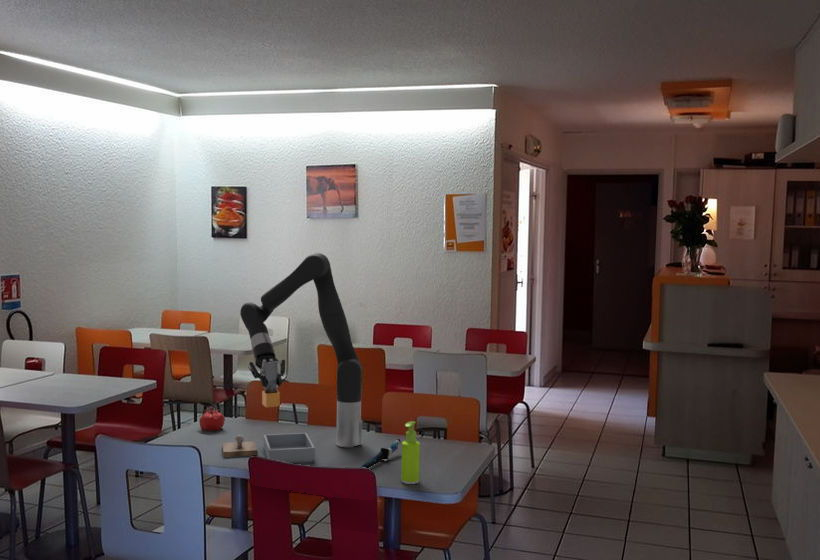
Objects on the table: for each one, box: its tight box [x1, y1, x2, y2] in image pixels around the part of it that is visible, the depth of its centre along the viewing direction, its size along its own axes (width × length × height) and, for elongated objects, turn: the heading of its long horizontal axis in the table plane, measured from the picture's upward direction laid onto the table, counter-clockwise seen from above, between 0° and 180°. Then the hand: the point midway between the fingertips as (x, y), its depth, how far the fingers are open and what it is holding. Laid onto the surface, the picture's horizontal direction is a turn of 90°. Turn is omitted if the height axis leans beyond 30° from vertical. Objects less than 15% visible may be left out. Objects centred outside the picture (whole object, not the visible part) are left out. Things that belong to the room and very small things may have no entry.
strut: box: [261, 361, 281, 408], centre depth 280 cm, size 5×5×16 cm
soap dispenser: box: [400, 420, 421, 482], centre depth 253 cm, size 6×7×20 cm
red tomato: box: [199, 406, 226, 432], centre depth 314 cm, size 10×10×9 cm
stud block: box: [221, 434, 259, 458], centre depth 283 cm, size 12×12×6 cm
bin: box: [263, 432, 316, 464], centre depth 281 cm, size 16×21×5 cm
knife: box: [361, 438, 402, 468], centre depth 273 cm, size 31×3×4 cm, turn 150°
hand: (272, 385), depth 279 cm, fingers closed on strut, 4 cm apart
